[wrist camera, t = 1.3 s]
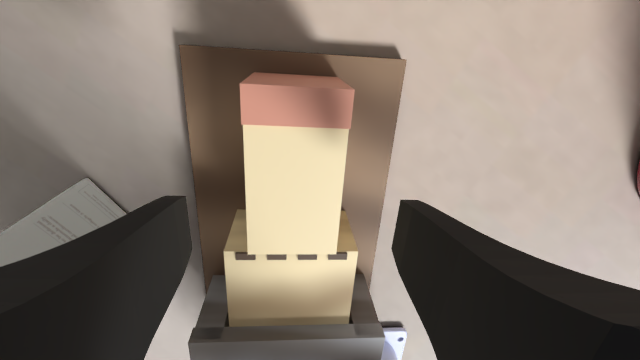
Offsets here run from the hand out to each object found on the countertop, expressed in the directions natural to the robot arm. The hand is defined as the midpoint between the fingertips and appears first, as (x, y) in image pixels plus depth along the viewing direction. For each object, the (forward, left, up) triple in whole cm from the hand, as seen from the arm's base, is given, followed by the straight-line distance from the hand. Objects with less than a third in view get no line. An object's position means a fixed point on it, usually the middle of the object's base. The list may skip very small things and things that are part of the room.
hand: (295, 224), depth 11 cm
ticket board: (-4, 0, -10) cm, 10 cm away
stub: (0, 0, -9) cm, 9 cm away
